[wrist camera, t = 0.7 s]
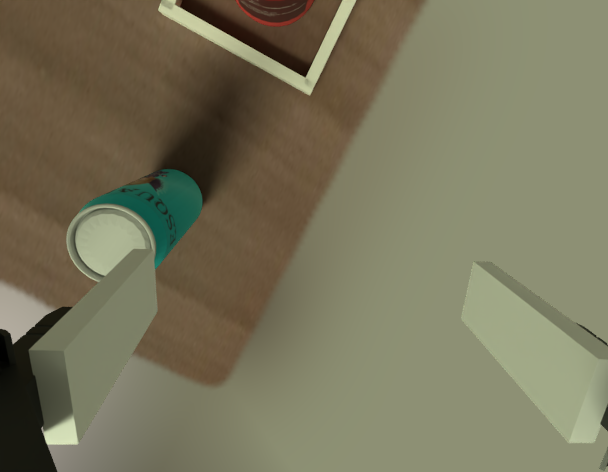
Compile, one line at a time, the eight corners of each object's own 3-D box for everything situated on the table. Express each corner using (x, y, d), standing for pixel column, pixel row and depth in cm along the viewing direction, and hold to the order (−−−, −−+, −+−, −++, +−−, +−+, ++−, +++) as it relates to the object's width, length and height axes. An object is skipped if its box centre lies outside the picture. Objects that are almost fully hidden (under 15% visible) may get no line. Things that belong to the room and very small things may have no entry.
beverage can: (192, 158, 36) (135, 186, 22) (214, 214, 38) (175, 274, 24) (135, 177, 36) (42, 216, 22) (160, 231, 38) (88, 301, 24)
